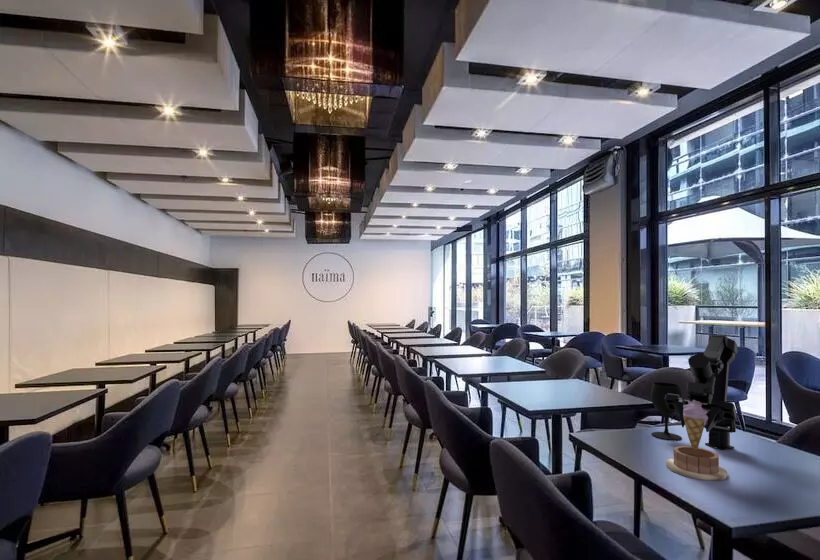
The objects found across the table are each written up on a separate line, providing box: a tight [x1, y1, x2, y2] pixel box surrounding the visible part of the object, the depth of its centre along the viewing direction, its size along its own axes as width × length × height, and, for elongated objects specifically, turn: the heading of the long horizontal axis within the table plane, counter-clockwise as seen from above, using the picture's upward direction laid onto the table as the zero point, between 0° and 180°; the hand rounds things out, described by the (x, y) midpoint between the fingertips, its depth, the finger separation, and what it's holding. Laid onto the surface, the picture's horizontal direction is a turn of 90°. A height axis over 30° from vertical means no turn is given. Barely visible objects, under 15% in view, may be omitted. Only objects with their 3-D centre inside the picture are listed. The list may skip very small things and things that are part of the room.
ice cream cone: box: [683, 400, 708, 450], centre depth 140 cm, size 7×6×15 cm
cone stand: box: [665, 445, 729, 482], centre depth 140 cm, size 16×16×6 cm
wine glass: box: [650, 381, 683, 442], centre depth 175 cm, size 10×10×20 cm
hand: (694, 428), depth 140 cm, fingers closed on ice cream cone, 6 cm apart
